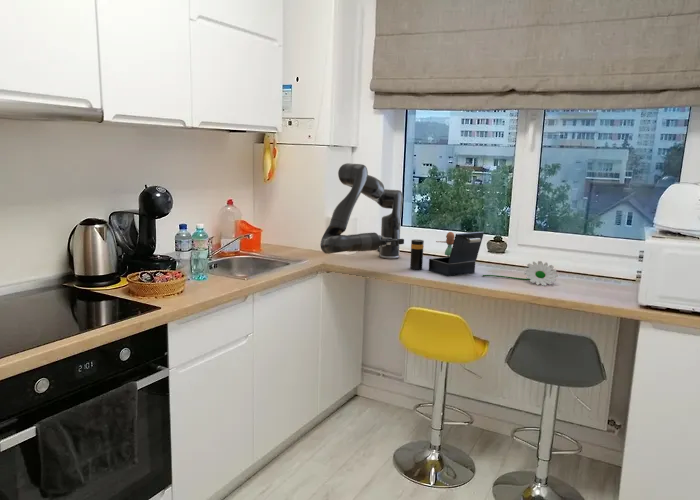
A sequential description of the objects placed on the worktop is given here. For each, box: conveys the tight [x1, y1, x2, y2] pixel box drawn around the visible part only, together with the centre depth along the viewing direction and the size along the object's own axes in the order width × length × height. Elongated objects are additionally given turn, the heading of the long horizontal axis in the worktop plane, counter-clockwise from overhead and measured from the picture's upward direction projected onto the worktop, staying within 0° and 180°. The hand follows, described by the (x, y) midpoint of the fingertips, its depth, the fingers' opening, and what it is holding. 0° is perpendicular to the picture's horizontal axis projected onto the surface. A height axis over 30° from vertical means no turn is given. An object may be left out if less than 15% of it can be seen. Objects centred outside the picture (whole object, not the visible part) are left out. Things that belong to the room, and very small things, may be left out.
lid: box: [448, 231, 485, 264], centre depth 226 cm, size 13×16×4 cm
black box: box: [428, 256, 476, 277], centre depth 236 cm, size 13×16×5 cm
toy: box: [435, 231, 455, 257], centre depth 254 cm, size 13×4×15 cm, turn 84°
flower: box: [482, 260, 559, 287], centre depth 224 cm, size 13×6×30 cm
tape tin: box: [409, 239, 425, 271], centre depth 239 cm, size 6×6×13 cm
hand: (397, 239), depth 231 cm, fingers open, 8 cm apart
